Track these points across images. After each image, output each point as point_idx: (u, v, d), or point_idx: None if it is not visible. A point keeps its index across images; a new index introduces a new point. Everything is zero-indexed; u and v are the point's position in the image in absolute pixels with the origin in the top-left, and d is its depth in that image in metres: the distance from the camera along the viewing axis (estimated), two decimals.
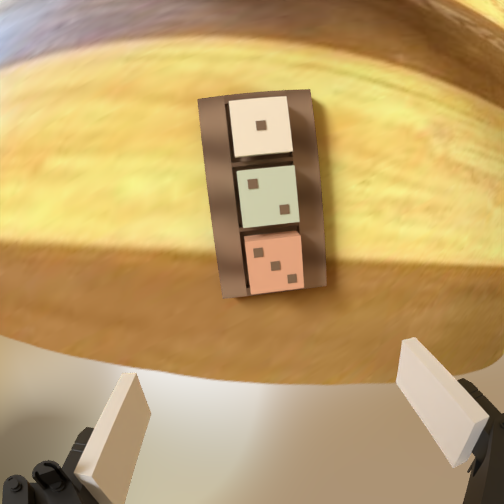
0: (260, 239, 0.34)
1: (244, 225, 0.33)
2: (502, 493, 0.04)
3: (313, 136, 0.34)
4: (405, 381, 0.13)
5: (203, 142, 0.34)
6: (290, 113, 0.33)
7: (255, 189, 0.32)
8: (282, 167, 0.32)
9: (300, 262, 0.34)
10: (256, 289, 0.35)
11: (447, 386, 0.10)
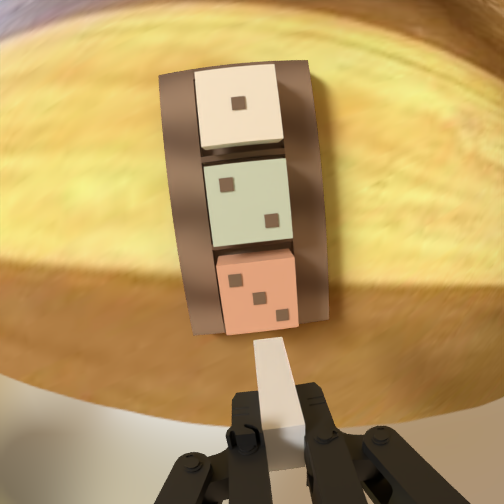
0: (238, 262, 0.24)
1: (215, 243, 0.24)
2: None
3: (312, 121, 0.25)
4: None
5: (164, 130, 0.24)
6: (281, 90, 0.24)
7: (230, 192, 0.23)
8: (268, 161, 0.22)
9: (294, 293, 0.25)
10: (233, 328, 0.25)
11: (280, 386, 0.12)
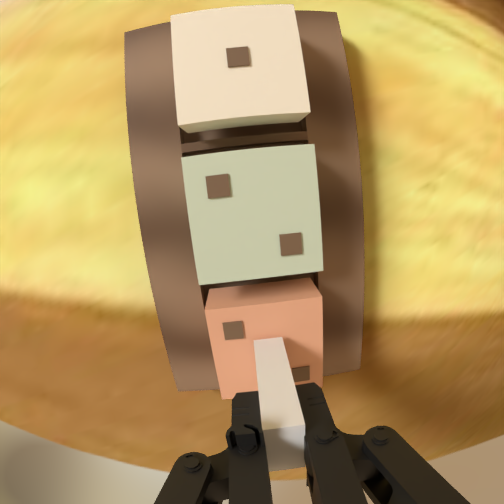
0: (238, 303, 0.16)
1: (201, 279, 0.15)
2: None
3: (347, 93, 0.16)
4: None
5: (129, 107, 0.16)
6: None
7: (224, 198, 0.14)
8: (287, 148, 0.13)
9: (318, 346, 0.16)
10: (232, 392, 0.17)
11: (280, 386, 0.12)
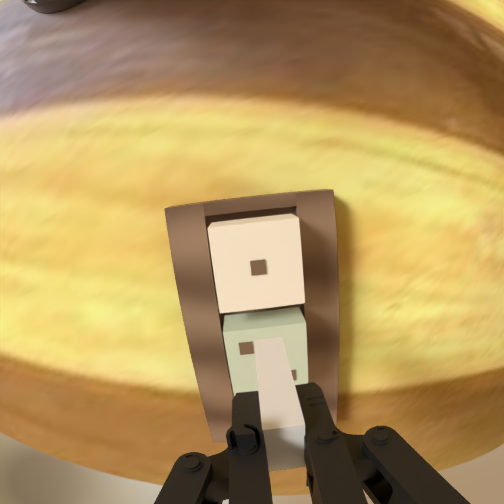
0: None
1: (235, 393, 0.23)
2: None
3: (334, 262, 0.25)
4: None
5: (176, 274, 0.24)
6: (302, 230, 0.24)
7: (249, 354, 0.23)
8: (288, 326, 0.22)
9: None
10: None
11: (280, 386, 0.12)
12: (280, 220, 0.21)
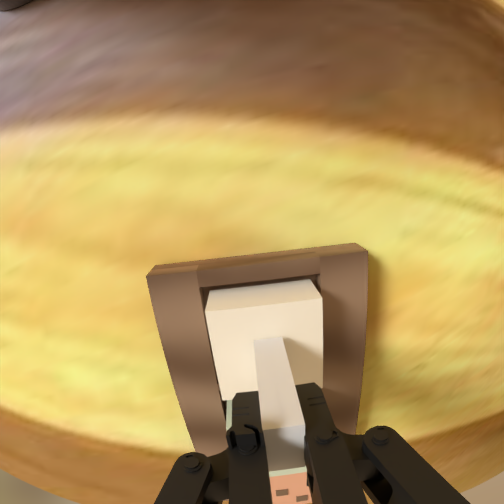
0: None
1: None
2: None
3: (361, 337, 0.19)
4: None
5: (166, 353, 0.19)
6: (326, 302, 0.18)
7: None
8: None
9: None
10: None
11: (280, 386, 0.12)
12: (298, 301, 0.16)
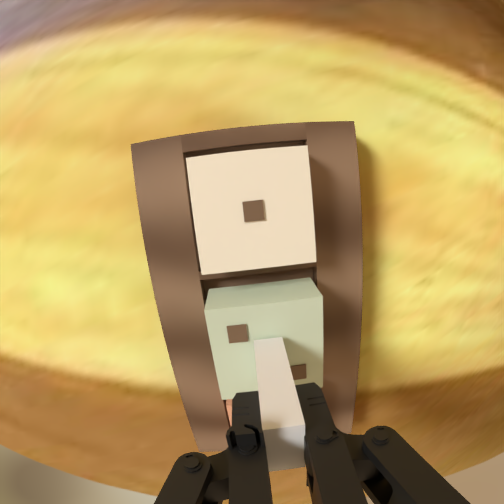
0: None
1: (224, 396, 0.17)
2: None
3: (356, 217, 0.18)
4: None
5: (144, 232, 0.18)
6: (315, 171, 0.17)
7: (243, 342, 0.16)
8: (298, 301, 0.16)
9: None
10: None
11: (280, 386, 0.12)
12: (283, 148, 0.15)
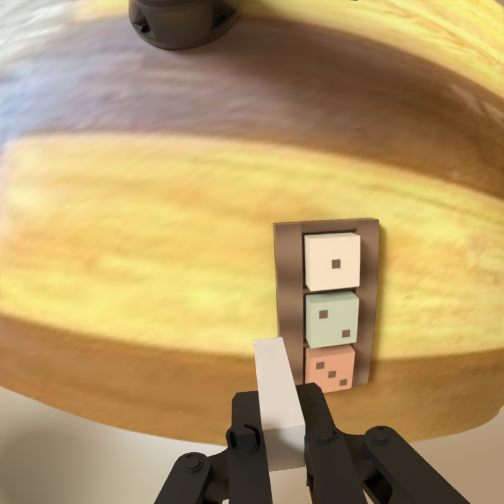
0: (322, 355, 0.38)
1: (312, 346, 0.37)
2: None
3: (376, 265, 0.38)
4: None
5: (278, 269, 0.37)
6: None
7: (324, 318, 0.36)
8: (349, 300, 0.36)
9: (351, 370, 0.38)
10: None
11: (280, 386, 0.12)
12: (350, 237, 0.35)
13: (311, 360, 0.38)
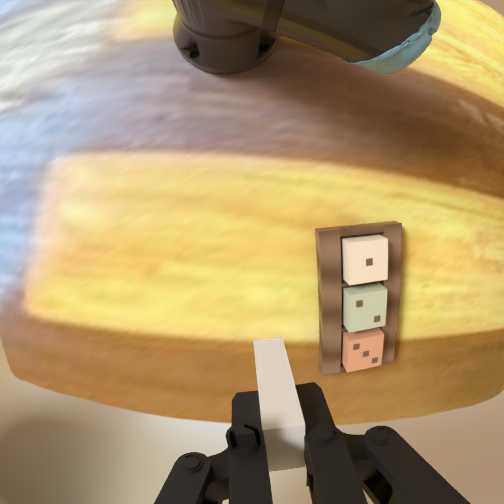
0: (358, 337, 0.45)
1: (350, 330, 0.44)
2: None
3: (399, 261, 0.44)
4: None
5: (322, 268, 0.44)
6: None
7: (360, 307, 0.43)
8: (379, 291, 0.43)
9: (381, 350, 0.45)
10: (351, 369, 0.46)
11: (280, 386, 0.12)
12: (380, 239, 0.41)
13: (349, 342, 0.44)
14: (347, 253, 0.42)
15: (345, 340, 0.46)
